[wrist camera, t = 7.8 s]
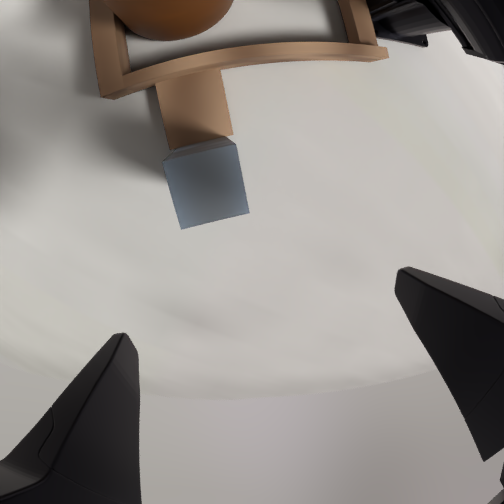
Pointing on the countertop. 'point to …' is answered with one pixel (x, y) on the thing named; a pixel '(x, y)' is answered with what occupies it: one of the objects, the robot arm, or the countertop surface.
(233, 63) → the brown frame with handle
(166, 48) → the countertop surface
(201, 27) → the mug
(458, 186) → the countertop surface
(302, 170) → the countertop surface
